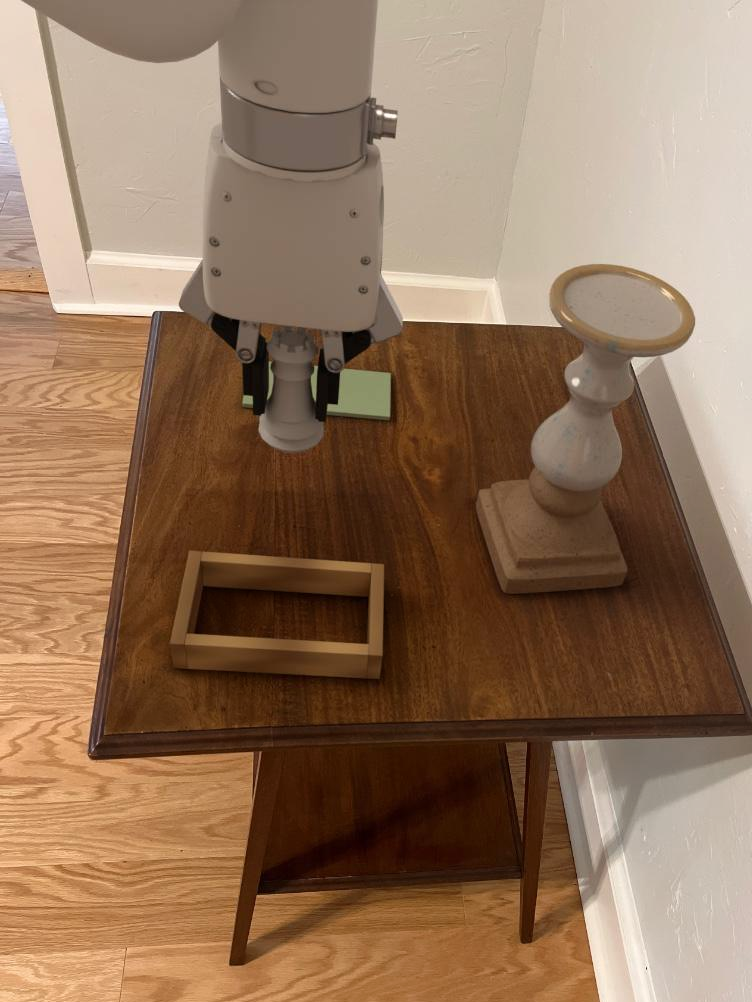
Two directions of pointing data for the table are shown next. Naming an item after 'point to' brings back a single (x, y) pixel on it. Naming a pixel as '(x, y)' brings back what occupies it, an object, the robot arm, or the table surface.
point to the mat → (352, 394)
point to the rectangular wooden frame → (278, 652)
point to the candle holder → (581, 435)
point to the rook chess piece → (291, 393)
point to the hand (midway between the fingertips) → (291, 403)
